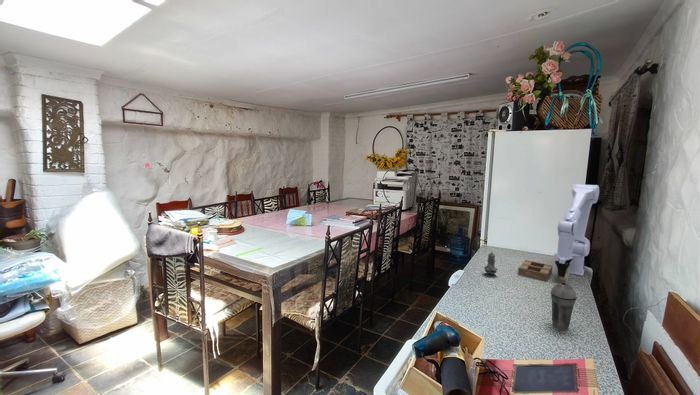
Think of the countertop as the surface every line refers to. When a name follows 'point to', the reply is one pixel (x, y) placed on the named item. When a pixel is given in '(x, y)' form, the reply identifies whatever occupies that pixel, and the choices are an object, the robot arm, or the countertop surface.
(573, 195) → the robot arm
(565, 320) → the beverage cup
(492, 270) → the grey chess piece
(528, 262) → the block
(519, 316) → the countertop surface
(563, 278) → the beech pin
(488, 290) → the countertop surface
